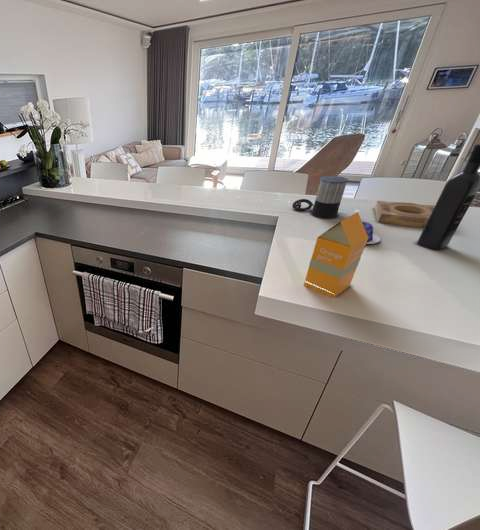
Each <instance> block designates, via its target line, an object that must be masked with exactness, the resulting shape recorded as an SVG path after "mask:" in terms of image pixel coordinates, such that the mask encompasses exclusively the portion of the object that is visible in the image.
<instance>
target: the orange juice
mask: <svg viewBox="0 0 480 530" xmlns="http://www.w3.org/2000/svg"><path fill="white" fill-rule="evenodd" d="M362 222H363V221H362V218H361V216H360V214H359V212H355V213H353V214H352V215H350V216H348V217H346V218H344V219H342V220H340V221H339V222H337V223H336V224H334V225H333V226H332V227H330V228H329V229H328V230H325V232H323V233H322V234H320V235H319V236H317V238H316V241H315V245H314V248H313V252H312V254H311V258H310V261H309V265H308V269H307V272H306V276H305V279H304V282H303V286H304V287H306V288H309V289H311V288H312V289H311V290H314V291H316V292H319V293H321V294H323V295H325V296H328V297H330V298H332V299H334V298H336V297H337V296H338V295H340V294H341V293H342V292H344V291H345V290H346V289H348V288H349V287H350V286H351V284H352V282H353V279H354V277H355V273H356V271H357V268H358V266H359V264H360V262H361V258H362V255H363V253H364V251H365V248H366V245H367V244H366V243H367V240H368V235H367V233H366V230H365V228H364V226H363V223H362ZM305 280H306V281H308V282H310V283H312V284H315V285H317V286H319V287H321V288H324V289H326V290H328V291H330V292H332V293H334V294H335V295H334V294H332V293H329V292H327V291H325V290H322V289H320V288H317V287H315V286H313V285H310V284H308V283H305Z"/></svg>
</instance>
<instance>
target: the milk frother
mask: <svg viewBox="0 0 480 530" xmlns="http://www.w3.org/2000/svg"><path fill="white" fill-rule="evenodd" d="M319 180H320V181H319V185H318V188H317V193H316V197H315V200H314V203H313V202H312V201H311V200H310V199H306V198H300V199H296V200H295V201H294V202H293V203H292V209H294V210H296V211H301V212H305V211H308V210H310V209H311V208H312V210H311V212H310V214H311V215H312V216H314V217H316V218H321V219H334V218H337V217H338V213H339V209H340V206H341V201H342V199H343V196H344V194H345V193H344V192H345V189H346V186H347V183H348V182H349V179H348V178H347V177H344V176H341V175H339V176H338V175H327V176H326V175H325V176H321V177H320V178H319ZM302 203H306V204H307V207H302Z"/></svg>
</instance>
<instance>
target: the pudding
mask: <svg viewBox="0 0 480 530" xmlns="http://www.w3.org/2000/svg"><path fill="white" fill-rule="evenodd" d="M362 223H363V226H364V228H365V230H366V233H367V235H368V240H367V243H366V245H371V244H372V245H373V244H377V243H380V241H381V238H380V236H378V235H377V234H375V233H374V226H373V224H371V223H370V222H366V221H362Z"/></svg>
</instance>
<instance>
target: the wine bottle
mask: <svg viewBox="0 0 480 530" xmlns="http://www.w3.org/2000/svg"><path fill="white" fill-rule="evenodd" d="M479 169H480V143H479V144H475V145H474V147H473V149H472V151H471V154H470V156H469V158H468V160H467V162H466V163H465V166H464V168H463V169H462V171H461V172H458V173H457V174H455V175H453V176H451V178H449V179H448V181H447V182H446V183H445V185H444V187H443V189H442V191H441V193H440V194H439V197H438V199H437V201H436V203H435V204H434V205H435V207H434V209H433V211H432V213H431V215H430V217H429V219H428V221H427V223H426V225H425V227H423V230H422V231H421V234H420V236H419V238H418V240H417V242H416V244H417V245H419V246H422V247H424V248H427V249H431V250H434V251H437V250H442V249H444V248H447V247H448V246H449V244H450V242H451V240H452V239H453V237H454V235H455V233H456V231H457V229H458V228H459V226H460V224H461V223H462V221H463V218H464V217H465V216H466V214H467V212H468V211H469V207H470V206H471V205H472V203H473V200H474V199H475V197H476V195H477V193H478V191H479V190H480V175H479V174H477V172H478V170H479Z"/></svg>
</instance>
